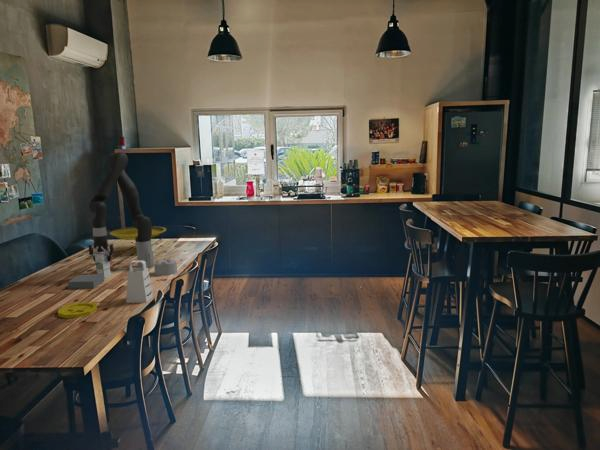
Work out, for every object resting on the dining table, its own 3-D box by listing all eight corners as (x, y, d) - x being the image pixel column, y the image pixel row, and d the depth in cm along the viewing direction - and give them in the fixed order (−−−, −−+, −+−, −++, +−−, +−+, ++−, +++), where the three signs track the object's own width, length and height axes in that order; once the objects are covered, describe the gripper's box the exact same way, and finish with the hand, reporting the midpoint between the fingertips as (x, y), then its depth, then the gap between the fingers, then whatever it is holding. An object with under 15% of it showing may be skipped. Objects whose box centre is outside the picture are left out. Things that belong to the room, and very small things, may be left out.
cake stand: (179, 248, 356) (178, 228, 353) (135, 259, 322) (133, 238, 320) (143, 242, 377) (142, 224, 374) (99, 253, 344) (97, 233, 341)
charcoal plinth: (104, 280, 274) (103, 274, 273) (93, 288, 260) (93, 281, 259) (80, 281, 274) (79, 274, 273) (68, 288, 260) (68, 281, 259)
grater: (133, 295, 247) (130, 258, 243) (153, 295, 246) (151, 258, 243) (126, 302, 236) (122, 264, 233) (146, 302, 236) (143, 263, 232)
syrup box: (111, 275, 285) (109, 252, 282) (104, 278, 279) (102, 254, 276) (103, 274, 286) (101, 251, 284) (96, 277, 281) (94, 254, 278)
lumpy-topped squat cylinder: (156, 271, 292) (155, 258, 291) (177, 270, 295) (176, 256, 293) (154, 276, 282) (153, 262, 281) (176, 274, 285) (175, 260, 283)
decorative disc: (57, 321, 213) (57, 317, 213) (59, 309, 229) (59, 305, 229) (97, 315, 220) (97, 311, 220) (96, 303, 236) (96, 300, 236)
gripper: (114, 233, 282) (116, 259, 285) (90, 233, 282) (93, 260, 285) (109, 235, 274) (111, 262, 277) (85, 236, 274) (87, 263, 277)
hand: (102, 261), depth 281 cm, fingers open, 7 cm apart
